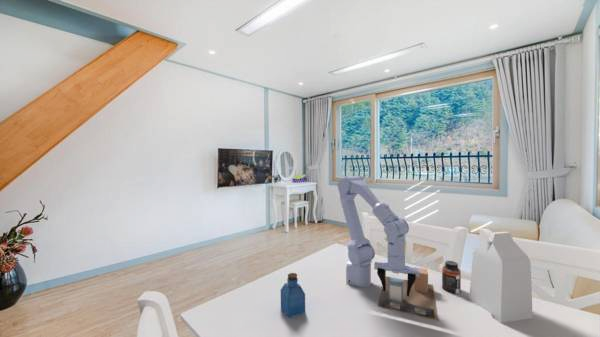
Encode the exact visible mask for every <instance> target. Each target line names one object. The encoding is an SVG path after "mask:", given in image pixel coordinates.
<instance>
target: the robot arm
mask: <svg viewBox="0 0 600 337" xmlns="http://www.w3.org/2000/svg"><path fill="white" fill-rule="evenodd" d="M336 185H337V188H338V193H339V199H340V203H341V206H342V207H341V208H342V211H343V214H344V218H345V222H346V225H347V230H348V233H349V237H350V241H349V242H348V244H347V250H348V252H347V255H348V261H347V262H346V267H345V270H346V272H345V274H346V275H345V278H346V279H345V283H346V284H345V286H347V285H348V284H351V285H354V286H357V287H361V288H368V287H369V286H370V285H371V284H372V282H371V281H372V279H371V278H372V267H371V266H372V262H373V261H372V260H373V259H374V258H375V255H376V252H375V249H374V246H373V245H372V244H371V241H370V239H368V238H366V237H365V233H364V231H363V228H362V225H361V220H360V217H359V212H358V210H357V206H356V203H355V198H356V196H357V195H359V196H360V197H361V198H362V199H363V200H364V201H365V202H366V203H367V204H368V205H369V206H370V207H371V208H372V213H373V215H374V216H375V217H376V219H377V220H378V221H379V222H380V223H381V225H382V226H383V231H384V234H385V235H386V240H387V262H378V261H375V262H374V270H376V271H377V272H376V274H377V277H378V278H379V280H380V283H381V288H382V287H383V291H385V290H386V279H385V277H386V272H392V273H393V274H405V275H407V280H408V286H407V296H409V293H410V290H411V287H412V285H413V283H414V282H415V280H416V277H419V269H416V268H417V267H416V268H414V267H413V266H408V265H406V235H407V234H408V233H409V231H410V227H409V223H407V221H406V219H404V218H401V217H399V216H398V215H397V214H395V212H393V210H392V209H391V208H390V205H388V204H387V203H385V202H381V201H379V199H378V198H377V197H376V195H375V194H374V193H373V192H372V190H371V189H370V188H369V186H368V185H367V180H365V179H364V178H363V176H361V175H350V176H341V177H340V178H339V180H338V182H337V184H336Z"/></svg>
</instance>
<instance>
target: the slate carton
mask: <svg viewBox="0 0 600 337" xmlns="http://www.w3.org/2000/svg"><path fill="white" fill-rule="evenodd" d="M389 277H390V279H389V299H390V300H394V301H399V302H403V280H404V279H403V278H397V277H391V276H389Z"/></svg>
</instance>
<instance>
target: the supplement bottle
mask: <svg viewBox="0 0 600 337" xmlns="http://www.w3.org/2000/svg"><path fill="white" fill-rule="evenodd" d="M441 272H442V273H441V274H442V275H441V277H442V279H441V283H442V284H441V285H442V286H441V289H442V290H443V291H445V292H446V293H449V294H453V295H456V294H460V293H461V288H462V287H461V284H462V282H461V278H462V277H461V276H462V274H461V270H460V268H459V264H458V262H456V261H452V260H446V261H445V262H444V266H443V267H442V271H441Z"/></svg>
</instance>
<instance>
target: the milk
mask: <svg viewBox="0 0 600 337" xmlns="http://www.w3.org/2000/svg"><path fill="white" fill-rule="evenodd" d="M471 264H472V265H471V273H470V284H469V285H470V286H469V296H468V300H470V301H471V302H473V303H474V304H476V305H477V306H479V307H480V308H482V309H483V310H484V311H486V312H487V313H489V314H490V315H491V316H492V319H494V320H495V321H497V322H498V323H499V324H504V323H510V322H517V321H524V320H530V319H531V320H532V319H533V318H534V316H533V314H534V313H533V296H532V295H533V294H532V292H533V288H532V287H533V286H532V265H531V264H532V263H531V260H530V258H529V256H528V255H527V254H526V253H525V251H524V250H522V248H521V247H520V246H519V245H518V244H517V243H516V242H515V241H514V239H513V237H512V234H511V232H509V231H497V232H495V231H493V232H491V233H490V234H489V239H488V240H487V241H486V242H485V243H483V244H480V245H479V246H478V247H476V248H475V249H474V250H473V253H472V262H471Z"/></svg>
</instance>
